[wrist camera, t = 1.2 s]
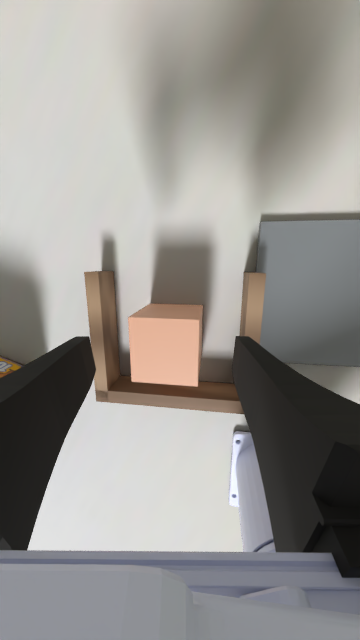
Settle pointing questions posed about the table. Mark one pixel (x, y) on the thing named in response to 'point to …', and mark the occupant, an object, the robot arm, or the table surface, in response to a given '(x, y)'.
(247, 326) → the walnut stall
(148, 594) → the robot arm
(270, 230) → the slate mat
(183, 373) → the terracotta block
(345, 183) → the table surface
